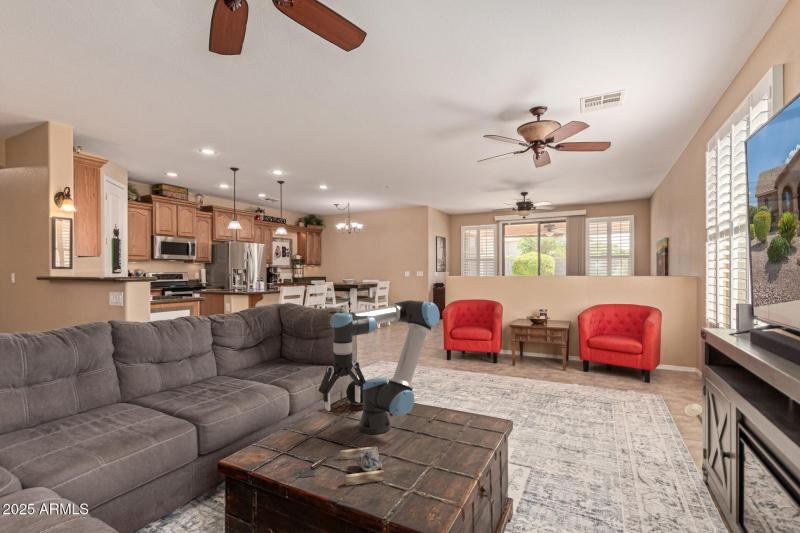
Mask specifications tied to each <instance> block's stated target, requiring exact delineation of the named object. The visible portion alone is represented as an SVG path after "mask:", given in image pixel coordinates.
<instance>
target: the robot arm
mask: <svg viewBox="0 0 800 533" xmlns="http://www.w3.org/2000/svg"><path fill="white" fill-rule="evenodd" d="M440 315H441V314H440V311H439V307H438V306H437V305H436V303H434V302H431V301H427V300H426V301H425V300H424V301H422V300H405V301H404V300H403V301H398V302H397V301H396V302H394V303H389V304H388V305H387V306H381V307H375V308H368V309H363V310H362V309H361V310H357V311H352V312H350V311H349V312H335V313H333V314H332V315H331V317H330V320H329V321H330V322H329V323H330V326H331V328H332V331H333V332H332V333H333V334H332V336H333V337H332V338H333V343H332V344H333V347H332V348H333V351H332V352H333V365H332V366H326V368H325V374H324V376H323V378H322V381H321V383H320V385H319V388H318V392H319V393H320V394H323V395H322V396H323V398H322V399H323V402H324V403H325V404H324V407H325V410H326V411H328V412H329V411H331V393H330V390H331V389H332V388H333V386H334V384H336V382H337V380H338V379H340V378H343V377H347V376H349V377H350V379H351V380H352V381H355V383H356V384H357V385H355V401H356V402H358V403H360V393H362V386H363V411H362V413H361V415H360V416H361V417H360V420H359V426H358V428H359V430H360V431H361V432H362V433H365V434H368V435H381V434H384V433H387V432H389V431H390V430H391V428H392V421H391V418H390V415H389V414H391V415H394V416H398V417H404V416H406V415H407V414H409V413H410V412H411V410H412V409H413V407H414V404H415V400H416V399H415V393H414V392H413V389H414V388H413V385H412V381H413V378H414V375H415V371H416V368H417V365H418V362H419V359H420V355H421V353H422V349H423V345H424V343H425V339H426V336H427V334H429V333H431V330H432V329H433V328H434V327H436V326H437V325H438V324H439V321H440ZM389 322H391V323H392V324H393V323H405V324H407V325H406V326H408V328H409V329H408V331H407V335H406V338H405V341H404V343H403V347H402V350H401V352H400V356H399V359H398V361H397V366H396V369H395V371H394V375H393V377H392V378H390V379H389V380H388V379H387V378H385V377H375V378H374V377H373V378H369V379H365V376H364V374H363V372H362V370H361V368H360V362H357V361H353V337H355V336H361V335H365V334H366V335H368V334H371V333H373V332H375V331H376V328H377V325H379V324H384V323H389ZM352 369H354V371H355V373H354V372H353V370H352ZM355 374H356V375H357V376H356V375H355Z"/></svg>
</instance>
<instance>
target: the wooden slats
mask: <svg viewBox="0 0 800 533" xmlns="http://www.w3.org/2000/svg"><path fill="white" fill-rule="evenodd" d="M373 447H374V446H367V447H359V448H351V449H342V450H340V451H339V452H340V455H339V456H340V461H343V460H350V459H352V460H353V459H355V455H356V454H358V453H360V452H362V451H363V449H369V448H373ZM385 474H386V473H385V470H384V469H382V470H380V469H378V470H376V471H371V472H367V471H364V472H359V473H350V474H345V483H344V484H345V486H346V487H347V486H354V485H359V484H360V485H361V484H369V483H374V482H381V481H385V479H386V475H385Z"/></svg>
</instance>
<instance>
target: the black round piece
mask: <svg viewBox="0 0 800 533" xmlns="http://www.w3.org/2000/svg"><path fill="white" fill-rule="evenodd" d="M355 385H357V384H356V383H355V381H354V380H352V381H351V382H350V383H349V384H348V385H347V387H346V389H345V391H346V392H345V394H346V399H347V400H348V401H349V404H348V406H347V409H348V410H349V411H352V412H363V386H362V393H360V403H358V402H356V401H355Z"/></svg>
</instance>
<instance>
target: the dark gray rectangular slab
mask: <svg viewBox="0 0 800 533" xmlns="http://www.w3.org/2000/svg"><path fill="white" fill-rule="evenodd" d="M310 477H311V478H312V477H315V470H314V469H313V470H311V469H310V470H303V471H300V479H303V478H310Z"/></svg>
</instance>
